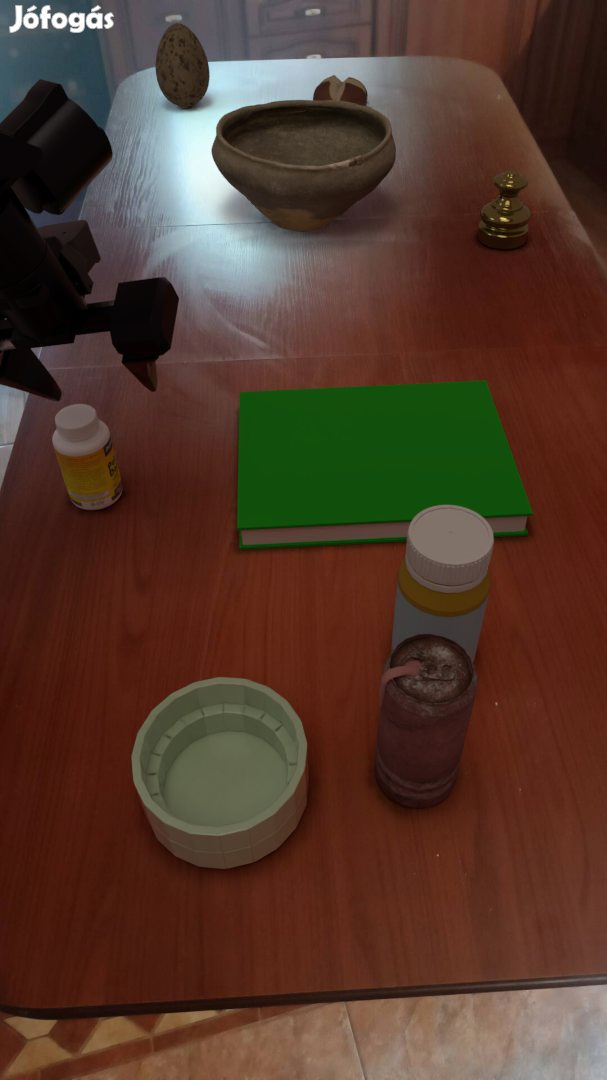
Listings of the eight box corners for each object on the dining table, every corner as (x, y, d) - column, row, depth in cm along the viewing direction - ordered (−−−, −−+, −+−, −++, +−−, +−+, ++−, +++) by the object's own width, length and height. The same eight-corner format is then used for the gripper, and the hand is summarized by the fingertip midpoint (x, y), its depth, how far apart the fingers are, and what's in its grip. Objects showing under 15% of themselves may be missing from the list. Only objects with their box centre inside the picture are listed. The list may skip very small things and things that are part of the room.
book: (527, 535, 78) (533, 513, 76) (239, 549, 78) (237, 528, 76) (481, 399, 94) (485, 377, 92) (241, 410, 93) (239, 389, 91)
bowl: (184, 215, 130) (172, 123, 120) (310, 168, 143) (309, 81, 133) (298, 276, 115) (295, 176, 105) (428, 217, 128) (436, 123, 118)
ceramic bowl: (154, 890, 55) (139, 854, 51) (139, 737, 64) (125, 695, 59) (325, 849, 57) (325, 811, 53) (289, 706, 65) (286, 663, 61)
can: (358, 754, 62) (364, 646, 52) (432, 727, 64) (451, 617, 54) (392, 824, 58) (404, 721, 48) (469, 794, 60) (497, 689, 50)
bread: (307, 112, 163) (306, 85, 159) (324, 94, 170) (323, 68, 167) (360, 117, 160) (360, 90, 156) (374, 99, 168) (375, 72, 164)
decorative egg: (184, 119, 162) (174, 34, 151) (150, 108, 167) (137, 24, 156) (223, 105, 167) (216, 22, 156) (189, 94, 172) (179, 13, 161)
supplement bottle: (126, 507, 82) (106, 428, 75) (71, 517, 81) (45, 438, 74) (122, 473, 86) (103, 394, 79) (69, 481, 85) (45, 403, 78)
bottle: (483, 639, 70) (511, 516, 59) (459, 702, 65) (484, 581, 54) (407, 614, 72) (420, 490, 61) (378, 673, 67) (388, 551, 57)
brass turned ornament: (502, 255, 118) (513, 187, 111) (466, 237, 123) (475, 170, 115) (536, 241, 121) (549, 173, 114) (500, 224, 125) (511, 158, 118)
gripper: (148, 160, 58) (216, 310, 72) (-73, 199, 63) (31, 333, 76) (123, 274, 53) (202, 411, 67) (-115, 307, 58) (4, 430, 71)
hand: (106, 392), depth 70 cm, fingers open, 9 cm apart
